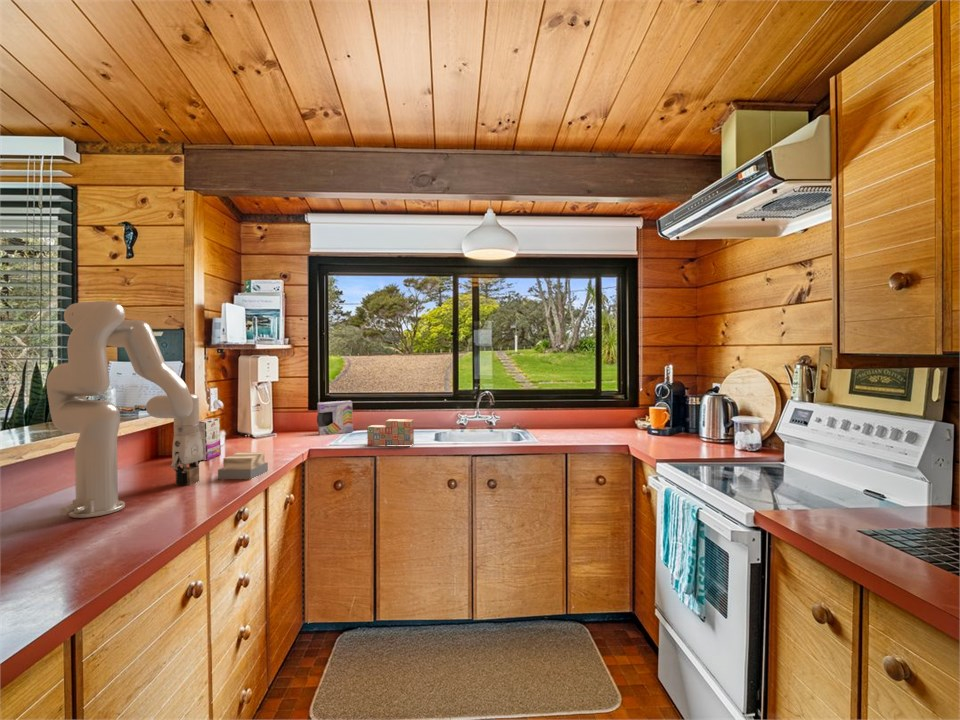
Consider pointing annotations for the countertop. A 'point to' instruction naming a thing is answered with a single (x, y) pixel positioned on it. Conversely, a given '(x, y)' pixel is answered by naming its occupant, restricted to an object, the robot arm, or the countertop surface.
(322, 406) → the cake pan box
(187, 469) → the walnut cube
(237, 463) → the pale birch block
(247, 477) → the slate base block
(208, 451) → the candy bar box
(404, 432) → the stack of blocks
